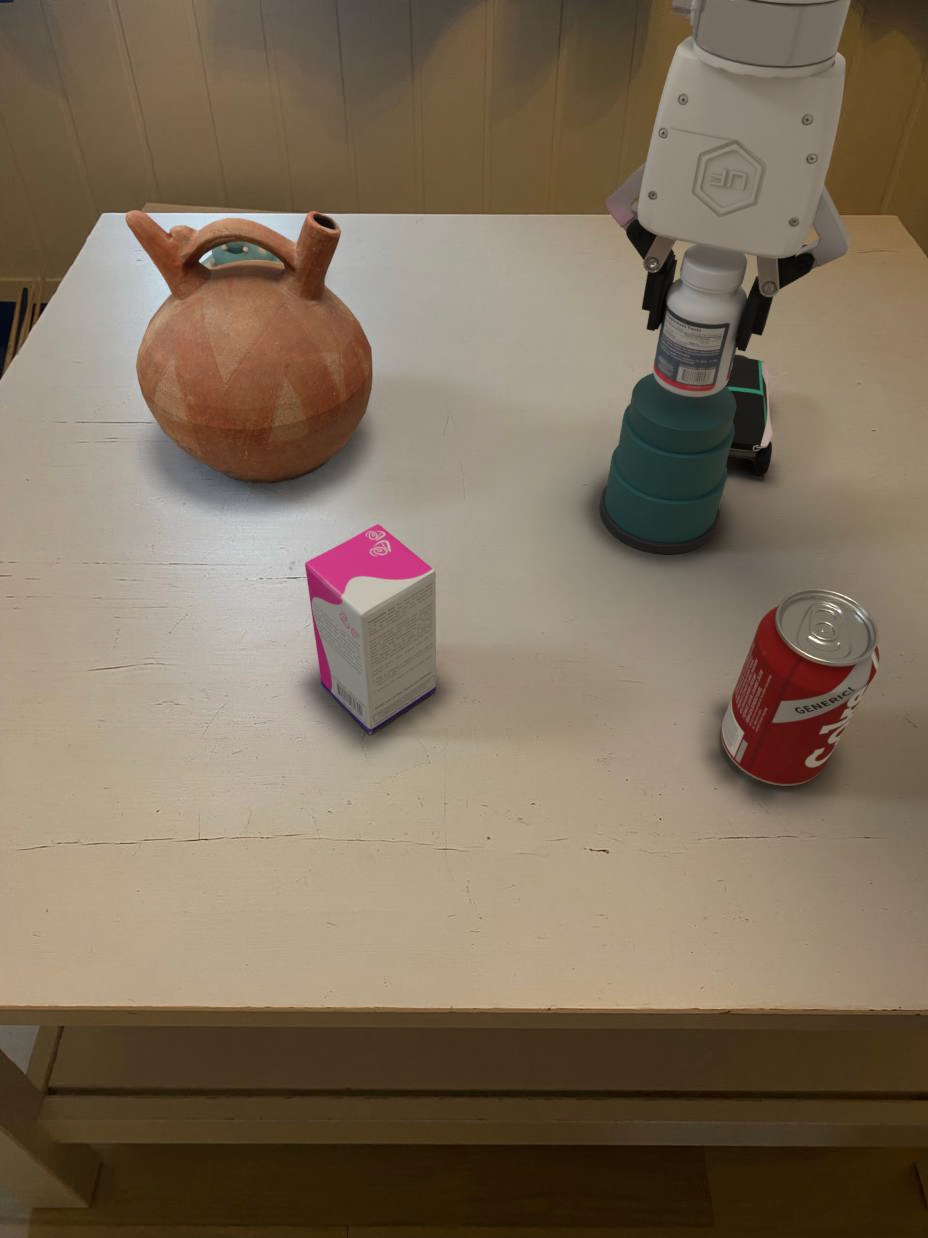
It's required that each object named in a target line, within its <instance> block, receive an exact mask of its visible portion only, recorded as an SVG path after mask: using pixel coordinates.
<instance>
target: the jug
mask: <svg viewBox="0 0 928 1238" xmlns="http://www.w3.org/2000/svg"><path fill="white" fill-rule="evenodd" d="M124 219H125V223H126V225H127V228H128V229H130V231H131V232H132V234H133V236H134V237H135V239H136V240H137V242H138V243H139V245H140V246H141V248H142V249H143V250H144V252H145V253H146V254H147V255H148V257H149V258H150V260H151V261H152V263H153V264H154V266H155V267H156V268H157V270H158V272H159V273H160V274H161V276H162V278H163V280H164V281H165V283H166V284H167V287H168V290H169V291H170V294H169V295H168V297H166V299H165V300H164V301H163V302H162V303H161V305H160V306H159V307H158V309H157V310H156V311H155V313H154V314H153V315H152V316H151V318H150V320H149V322H148V325H147V326H146V329H145V331H144V333H143V336H142V339H141V342H140V344H139V348H138V351H137V356H136V362H135V369H136V375H137V380H138V384H139V388H140V392H141V395H142V397H143V400H144V401H145V403H146V405H147V408H148V410H149V412H150V413H151V414H152V416H153V418H154V419H155V421H156V422H157V425H158V426H159V427H160V429H161V430H162V432H163V433H164V434H165V435H166V436H167V437H168V438H169V439H170V440H171V441H172V442H173V443H174V444H175V445H176V446H177V447H178V448H180V449H181V450H182V451H183V452H184V453H186V454H187V455H188V456H189V457H191V458H193V459H194V460H196V461H197V462H199V463H202V464H203V465H205V466H207V467H209V468H211V469H213V470H215V471H217V472H219V473H221V474H224V475H226V476H228V477H230V478H231V479H234V480H238V481H243V482H247V483H251V484H277V483H282V482H288V481H293V480H296V479H299V478H301V477H304V476H306V475H309V474H311V473H314V472H315V471H317V470H319V469H320V468H322V467H323V466H324V465H326V464H327V463H328V462H329V461H330V460H331V459H332V458H333V457H334V456H335V455H336V454H337V453H338V452H339V451H340V450H341V449H342V448H343V447H344V446H345V445H346V443H348V441H349V440H350V439H351V438H352V436H353V435H354V433H355V431H356V430H357V428H358V427H359V425H360V423H361V421H362V420H363V417H364V416H365V415H366V412H367V409H368V407H369V404H370V403H369V402H370V398H371V394H372V389H373V388H372V386H373V377H374V376H373V374H374V373H373V354H372V353H373V352H372V346H371V344H370V342H369V339H368V337H367V335H366V333H365V331H364V329H363V327H362V325H361V323H360V321H359V320H358V318H357V317H356V316H355V314H354V313H353V312H352V311H351V309H350V307H348V306H347V305H346V303H344V302H343V300H342V299H341V298H340V297H339V296H338V295H337V294H335V293H334V292H333V291H332V290H331V289H330V288H329V287H328V286H327V285H326V284H325V283H326V276H327V273H328V270H329V268H330V265H331V263H332V261H333V257H334V255H335V252H336V251H337V248H338V245H339V242H340V239H341V234H342V230H341V228H340V225H339V224H338V223H337V222H336V220H334V218H332V217H331V216H329V215H327V214H324V213H321V212H319V211H316V210H312V211H309V212H307V214H306V216H305V219H304V221H303V223H302V226H301V228H300V229H301V230H300V233H299V235H298V238H297V240H296V241H293V240H291V239H290V238H288V237H286V236H284V235H283V234H281V233H279V232H278V231H276V230H274V229H271V228H270V227H268V226H267V225H264V224H262V223H259V222H257V221H254V220H250V219H247V218H246V219H245V218H241V217H226V218H221V219H218V220H214V221H212V222H210V223H208V224H206V225H204V226H202V228H199V230H198V229H196V228H193V227H190V226H188V225H186V224H183V225H174V226H173V227H170V229H169V232H167V231H166V230H165V229H164V228H163V227H162V226H161V225H159V224H158V223H157V222H156V221H155V220H154V219H153V218H152V217H150V215H149V214H147V213H146V212H144V211H140V210H135V209H134V210H130V211H127V212H126V213H125V217H124ZM230 242H248V243H251V244H253V245H256V246H259V247H261V248H263V249H264V250H266V251H268V252H270V253H271V254H272V255H274V256H275V257H276V258H278V259H279V260H280V261H281V262H282V263H280V262H275V261H267V260H243V261H236V262H231V263H227V264H223V265H219V266H216V267H213V268H211V269H209V268H207V267H206V266H204V265H203V264H202V263H201V262H200V261H201V259H202V258H203V256H204V255H206V254H208V253H209V252H212V249H214V248H216V247H219V246H221V245H224V244H227V243H230Z"/></svg>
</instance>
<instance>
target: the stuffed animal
mask: <svg viewBox="0 0 928 1238" xmlns="http://www.w3.org/2000/svg"><path fill="white" fill-rule="evenodd" d="M243 260H267V261H275V262H280V263H282V262H281V261H280V260H279V259H278V258H276V257H275V256H274V255H272V254H271V253H270V252H268V251H266V250H264V249H263V248H261V247H259V246H256V245H253V244H251V243H248V242H230V243H227V244H224V245H221V246H219V247H216V248H214V249H212V250H211V254H210V255H209V256H208V257H206V258H205V259H204V260H203V261H201V262H200V263H202V264H203V265H204V266H206V267H207V268H209V269H211V268H213V267H216V266H219V265H223V264H227V263H231V262H236V261H243Z"/></svg>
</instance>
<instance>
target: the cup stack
mask: <svg viewBox="0 0 928 1238" xmlns="http://www.w3.org/2000/svg"><path fill="white" fill-rule="evenodd" d="M735 411H736V401H735V398H734V396H733V394H732V392H731V391H730V390H729V389H728V388H727V387H726V386H725V387H724V388H723V389H722V390H720V391H719V392H717V393H715V394H712V395H709V396H704V397H687V396H682V395H678V394H675V393H673V392H670V391H668V390H667V389H665V388H663V387H662V386H661V385H660V384H659V383H658V382H657V381H656V379H655V377H654V374H653V372H651V373H649V374H647V375H645V376H643V377H641V378H640V379H639V380H638V381H637V382H636V384H635V385H634V387H633V389H632V392H631V397H630V403H629V404H628V405H627V407H626V408H625V409H624V412H623V415H622V421H621V427H620V433H619V440H618V445H617V446H616V447H615V449H614V450H613V452H612V454H611V459H610V465H609V469H608V470H609V471H608V476H607V483H606V485H605V487H604V489H603V490H602V493H601V496H600V503H599V514H600V518H601V520H602V523H603V524H604V526H605V527H606V529H607V530H608V531H609V533H610V534H612V535H613V536H614V537H615V539H618V540H619V541H620V542H622V543H623V544H626V545H627V546H629V547H632V548H633V549H636V550H639V551H643V552H647V553H651V554H658V555H675V554H683V553H687V552H690V551H691V552H692V551H693V550H697V549H698V548H700V547H702V546H703V545H705V544H706V543H707V542H708V541H709V540H710V539H711V538H712V537H713V536H714V534H715V533H716V531H717V527H718V524H719V520H720V518H721V517H720V516H721V509H720V504H721V500H722V497H723V493H724V490H725V486H726V482H727V478H728V469H727V462H728V458H729V456H728V455H729V451H730V448H731V444H732V440H733V437H734V429H735V428H734V424H733V418H734V415H735Z"/></svg>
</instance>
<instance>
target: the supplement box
mask: <svg viewBox="0 0 928 1238" xmlns="http://www.w3.org/2000/svg"><path fill="white" fill-rule="evenodd" d="M304 568H305V573H306V581H307V589H308V595H309V596H308V597H309V603H310V611H311V617H312V626H313V632H314V639H315V646H316V654H317V660H318V668H319V670H318V671H319V676H320V677H319V678H320V684H321V686H322V687H323V688H324V689H325V690H326V691H327V692H328V693H329V695H330V696H331V697H332V698H333V699H334V700H335V701H336V702H337V703H338V704H339V705H340V706H341V707H342V708H343V709H344V710H345V711H346V712H347V713H348V714H349V715H350V716H351V717H352V718H353V719H354V721H356V722H357V723H358V724H359V725H360V726H361V727H362V728H363V729H364V731H366V732H367V734H368V735H372V734H374V733H376V732H377V731H379V730H380V729H382V728H383V727H385V726H386V725H388V724H389V723H390V722H392V721H393V720H395V719H396V718H398V717H400V716H401V715H402V714H404V713H405V712H407V711H408V710H410V709H411V708H413V707H415V706H416V705H418V704H419V703H421V702H422V701H423V700H425V699H426V698H428V697H429V696H431V695H432V694H434V693H435V692H436V690H437V653H436V651H437V635H436V634H437V632H436V630H437V628H436V627H437V623H436V622H437V619H436V617H437V614H436V613H437V612H436V611H437V609H436V607H437V604H436V603H437V602H436V601H437V600H436V599H437V598H436V595H437V594H436V593H437V591H436V590H437V589H436V583H437V582H436V578H437V577H436V575H437V574H436V569H434V568H433V567H431V565H429V564H428V563H426V561H424V560H423V559H421V558H420V556H418V555H417V554H416V553H415V552H413V550H411V549H410V548H408V547H407V546H406V545H404V543H402V542H401V541H400V540H399V539H397V538H396V537H395V536H394V535H392V533H390V532H389V531H388V530H387V529H385V528H384V527H383V526H382V525H380V523H376V524H375V525H372V526H371V527H368V528H367V529H365V530H364V531H361V532H360V533H358V534H356V535H354V536H353V537H351V538H349V539H347V540H346V541H344V542H342V543H340V544H338V545H336V546H334V547H332V548H331V549H328V550H326V551H325V552H323V553H321V554H319V555H317V556H315V557H313V558H311V559H309V560H307V561H306V562H304Z"/></svg>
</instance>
